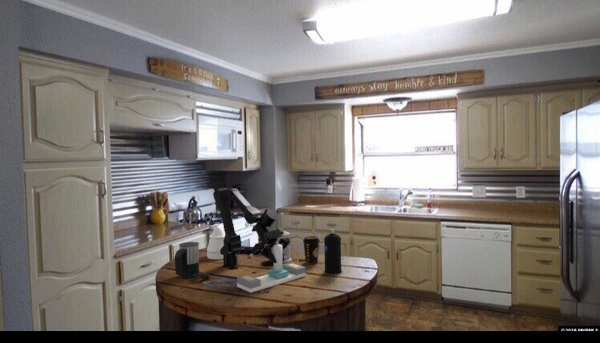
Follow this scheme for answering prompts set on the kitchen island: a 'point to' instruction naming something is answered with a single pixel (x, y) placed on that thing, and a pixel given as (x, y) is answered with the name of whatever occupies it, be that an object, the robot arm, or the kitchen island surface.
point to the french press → (286, 256)
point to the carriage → (278, 264)
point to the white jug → (216, 243)
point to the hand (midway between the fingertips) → (279, 261)
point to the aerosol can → (332, 253)
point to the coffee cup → (311, 249)
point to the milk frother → (188, 261)
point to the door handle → (247, 251)
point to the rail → (270, 278)
